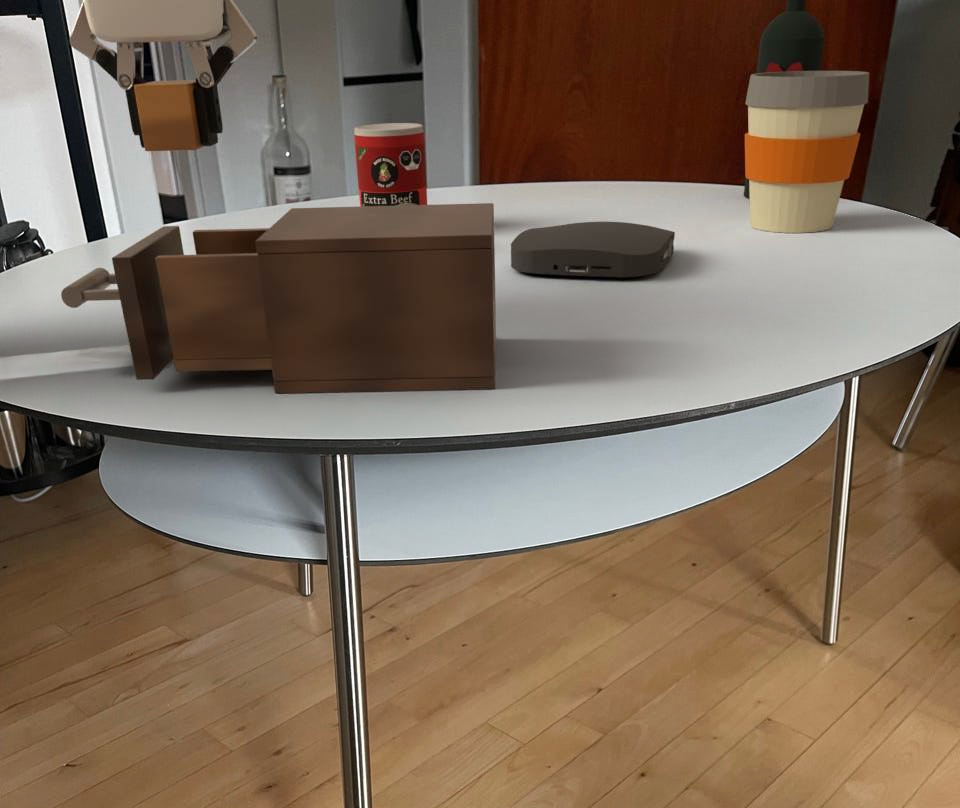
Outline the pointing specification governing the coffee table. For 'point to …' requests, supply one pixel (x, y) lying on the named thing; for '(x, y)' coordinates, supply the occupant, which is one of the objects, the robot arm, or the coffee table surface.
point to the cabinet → (380, 298)
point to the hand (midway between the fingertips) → (180, 142)
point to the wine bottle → (790, 45)
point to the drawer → (186, 301)
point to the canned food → (391, 164)
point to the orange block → (168, 115)
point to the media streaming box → (593, 250)
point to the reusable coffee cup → (801, 146)
